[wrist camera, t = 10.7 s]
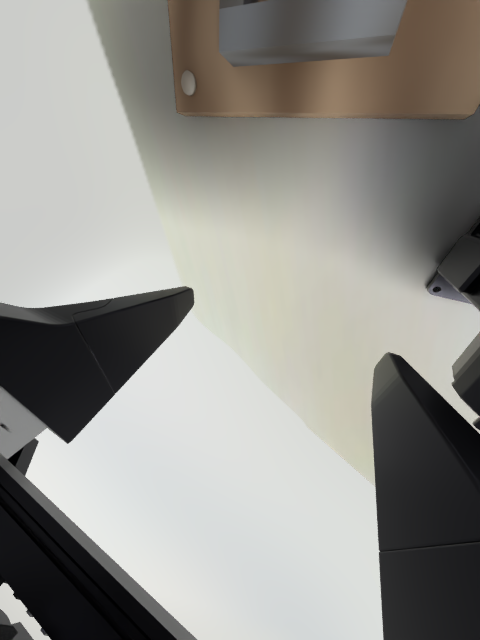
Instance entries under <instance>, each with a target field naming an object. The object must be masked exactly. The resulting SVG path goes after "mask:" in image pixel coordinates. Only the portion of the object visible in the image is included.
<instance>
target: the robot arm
mask: <svg viewBox="0 0 480 640" xmlns="http://www.w3.org/2000/svg"><path fill="white" fill-rule="evenodd" d="M437 270H438V273H437V275H436V276H435V277H434V279H433V280H432V281H431V283H430V284H429V285H428V287H427V291H428V292H429V293H430V294H432V295H435V296H439V297H444V298H448V299H452V300H457V301H461V302H465V303H469V304H473V305H474V306H475V307H476V308H477V309H478V310H479V311H480V218H479V219H478V221H477V222H476V223H475V225H474V226H473V227H472V229H471V230H470V231H469V233H468V234H466V235H464V236H462V237H461V238H460V239H459V240H458V242H457V243H456V244H455V246H454V247H453V248H452V250H451V251H450V252H449V254H448V255H447V256H446V258H445V259H444V260H443V262H442V263H441V264H440V266H439V267H438V269H437ZM434 287H439V289H438V290H433V288H434ZM193 305H194V292H193V289H192V288H189V287H186V286H184V287H178V288H172V289H167V290H160V291H154V292H148V293H142V294H136V295H130V296H124V297H118V298H114V299H113V298H112V299H106V300H99V301H93V302H86V303H78V304H70V305H62V306H54V307H45V308H24V307H17V306H13V305H8V304H4V303H0V586H1V584H2V583H3V582H4V583H7V584H8V585H9V586H10V587H11V589H12V590H13V591H14V594H13V595H14V597H15V598H16V599H19V600H21V601H22V603H23V604H24V605H25V607H27V609H28V610H27V611H26V612H27V614H28V615H29V616H30V617H34V618H35V619H36V621H37V622H38V623H39V624H40V626H41V627H42V628H41V632H42V633H43V634H44V635H46V636H49V637H50V639H51V640H197V639H196V638H195V637H194V636H193V635H192V634H190V632H188V631H187V630H186V629H185V628H184V627H183V626H182V625H181V624H180V623H179V622H178V621H177V620H176V619H175V618H174V617H173V616H172V615H170V614H169V613H168V612H167V611H166V610H165V609H164V608H163V607H162V606H161V605H160V604H159V603H158V602H157V601H156V600H155V599H154V598H153V597H152V596H150V595H149V594H148V593H147V592H146V591H145V590H144V589H143V588H142V587H141V586H140V585H139V584H138V583H137V582H136V581H135V580H134V579H133V578H132V577H130V576H129V575H128V574H127V573H126V572H125V571H124V570H123V569H122V568H121V567H120V566H119V565H118V564H117V563H116V562H115V561H114V560H113V559H111V558H110V557H109V556H108V555H107V554H106V553H105V552H104V551H103V550H102V549H101V548H100V547H99V546H98V545H96V543H95V542H93V541H92V540H91V539H90V538H89V537H88V536H87V535H86V534H85V533H84V532H83V531H82V530H81V529H80V528H79V527H78V526H76V524H75V523H74V522H72V521H71V520H70V519H69V518H68V517H67V516H66V515H65V514H64V513H63V512H62V511H61V510H59V508H58V507H56V505H55V504H54V503H52V502H51V501H50V500H49V499H48V498H47V497H46V496H45V495H44V494H43V493H42V492H41V491H40V490H39V489H38V488H37V487H36V486H35V485H33V484H32V483H31V482H30V481H29V480H28V479H27V478H26V477H25V474H26V472H27V469H28V467H29V464H30V462H31V459H32V457H33V454H34V452H35V449H36V447H37V444H38V441H37V440H36V439H35V437H36V436H37V435H39V434H40V433H41V432H42V431H44V430H45V429H46V428H48V429H49V430H51V431H52V432H53V433H54V434H56V435H57V436H58V437H60V438H61V439H62V440H64V441H65V442H66V443H67V444H68V443H69V442H71V441H72V440H73V439H74V438H75V437H76V435H77V434H78V433H79V432H80V431H81V430H82V429H83V428H84V427H85V426H86V425H87V424H88V423H89V422H90V421H91V420H92V418H93V417H94V416H95V415H96V414H97V413H98V412H99V411H100V410H101V409H102V408H103V407H104V406H105V405H106V403H107V402H108V401H109V400H110V399H111V398H112V397H113V396H114V395H115V393H116V392H117V391H118V390H119V389H120V388H121V387H122V386H123V385H124V384H125V383H126V382H127V381H128V380H129V378H130V377H131V376H132V375H133V374H134V373H135V372H136V371H137V370H138V369H139V368H140V367H141V366H142V365H143V363H144V362H145V361H146V360H147V359H148V358H149V357H150V356H151V355H152V354H153V353H154V352H155V351H156V349H157V348H158V347H159V346H160V345H161V344H162V343H163V342H164V341H165V340H166V339H167V338H168V337H169V336H170V334H171V333H172V332H173V331H174V330H175V329H176V328H177V327H178V326H179V324H180V323H181V322H182V320H183V319H184V318H185V316H186V315H187V313H188V312H189V311H190V310H191V308H192V307H193ZM452 369H453V377H454V379H455V380H454V382H453V383H452V386H453V388H454V389H455V391H456V392H457V393H458V395H459V396H460V398H461V399H462V400H463V401H464V402H465V403H466V404H467V405H468V406H469V407H470V408H471V409H472V410H473V411H474V412H475V413H476V414H477V415H478V416H479V417H478V418H477V419H476V420H475V421H474V422H473V425H474V426H475V427H476V428H477V429H479V430H480V332H479V334H478V335H477V336H476V337H475V339H474V340H473V341H472V342H471V343H470V345H469V346H468V347H467V348H466V350H465V351H464V352H463V353H462V354H461V356H460V357H459V358H458V359H457V361H456V362H455V363H454V364H453V366H452ZM371 411H372V430H373V448H374V467H375V485H376V504H377V521H378V541H379V550H380V552H379V563H380V582H381V600H382V618H383V637H384V640H480V434H479V433H478V432H477V431H476V430H475V429H474V428H473V427H472V426H471V425H470V424H469V423H468V422H467V421H466V420H465V419H464V418H463V417H462V416H461V415H460V414H459V413H458V412H457V411H456V410H455V409H454V408H453V407H452V406H451V405H450V404H449V403H448V402H447V401H446V400H445V399H444V398H443V397H442V396H441V395H440V394H439V393H438V392H437V391H436V390H435V389H434V388H433V387H432V386H431V385H430V384H429V383H428V382H427V381H426V380H425V379H423V378H422V377H421V376H420V375H419V374H418V373H417V372H416V371H415V370H414V369H413V368H412V367H411V366H410V365H409V364H408V363H407V362H406V361H405V360H404V359H403V358H402V357H401V356H399V355H396V354H393V353H390V352H388V353H386V354H385V355H384V356H383V357H382V359H381V360H380V361H379V362H378V364H377V365H376V367H375V369H374V377H373V389H372V401H371ZM0 640H33V639H32V637H31V636H30V635H29V633H28V632H27V630H26V629H25V628H24V627H23V625H22V624H21V623H20V622H19V623H15V624H11V623H10V621H9V618H8V617H7V615H6V614H5V613H4V612H3V611H2V610H1V609H0Z"/></svg>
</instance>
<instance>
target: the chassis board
mask: <svg viewBox="0 0 480 640" xmlns="http://www.w3.org/2000/svg"><path fill="white" fill-rule="evenodd" d="M168 11H169V23H170V36H171V48H172V61H173V73H174V85H175V98H176V110H177V113H179V114H182V115H184V116H216V117H299V118H383V119H466V118H467V117H469V116H471V115H473V114H474V113H475V111H476V109H477V108H478V106H479V104H480V0H168Z"/></svg>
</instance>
